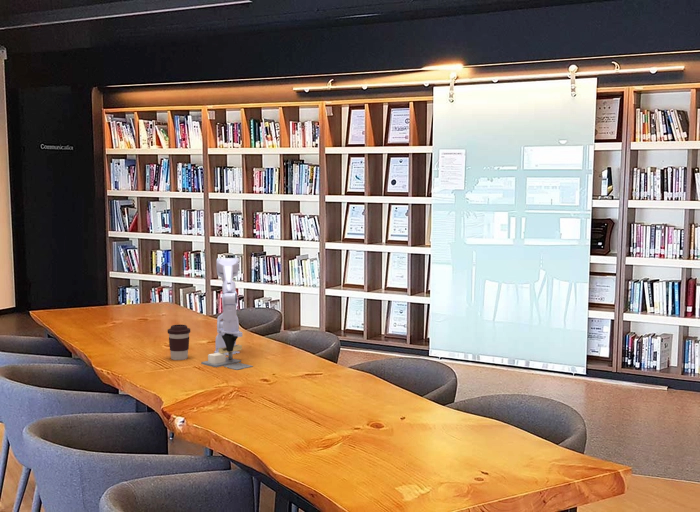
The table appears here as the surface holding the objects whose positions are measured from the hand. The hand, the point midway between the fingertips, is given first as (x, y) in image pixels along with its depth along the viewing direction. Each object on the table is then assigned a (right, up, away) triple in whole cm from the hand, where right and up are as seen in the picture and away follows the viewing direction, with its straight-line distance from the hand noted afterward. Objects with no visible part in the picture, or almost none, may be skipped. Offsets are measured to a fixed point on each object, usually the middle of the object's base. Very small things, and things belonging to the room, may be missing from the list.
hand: (230, 351), depth 333 cm
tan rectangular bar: (0, 0, +4) cm, 4 cm away
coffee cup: (-24, -5, +9) cm, 26 cm away
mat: (+4, -6, -5) cm, 9 cm away
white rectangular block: (-5, -5, -1) cm, 7 cm away
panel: (-4, -5, 0) cm, 7 cm away
